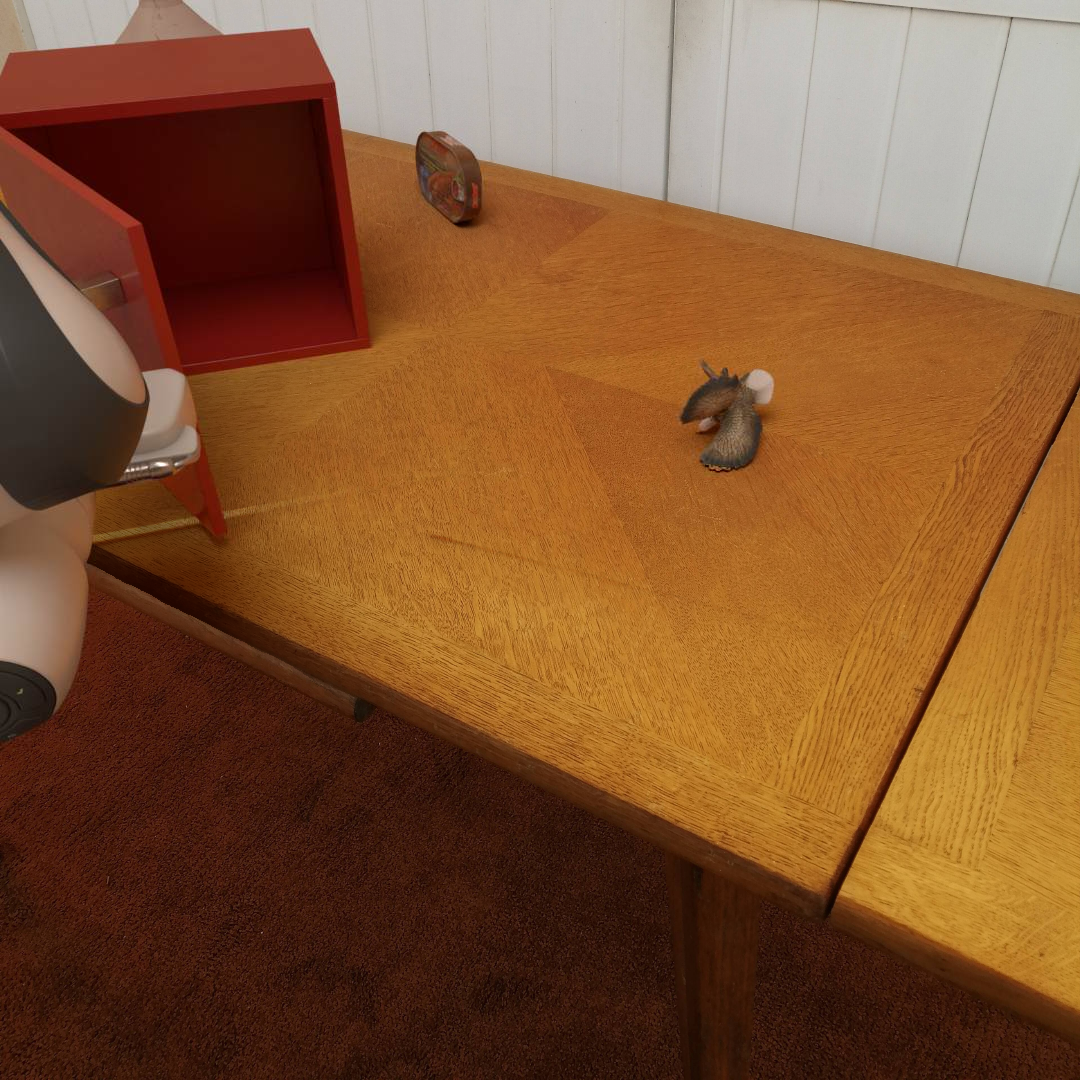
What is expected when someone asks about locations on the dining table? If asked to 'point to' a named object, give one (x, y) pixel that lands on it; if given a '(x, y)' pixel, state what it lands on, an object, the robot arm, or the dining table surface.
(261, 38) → the red cabinet
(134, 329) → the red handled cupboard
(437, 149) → the tin
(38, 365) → the robot arm
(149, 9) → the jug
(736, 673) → the dining table surface
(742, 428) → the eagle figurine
